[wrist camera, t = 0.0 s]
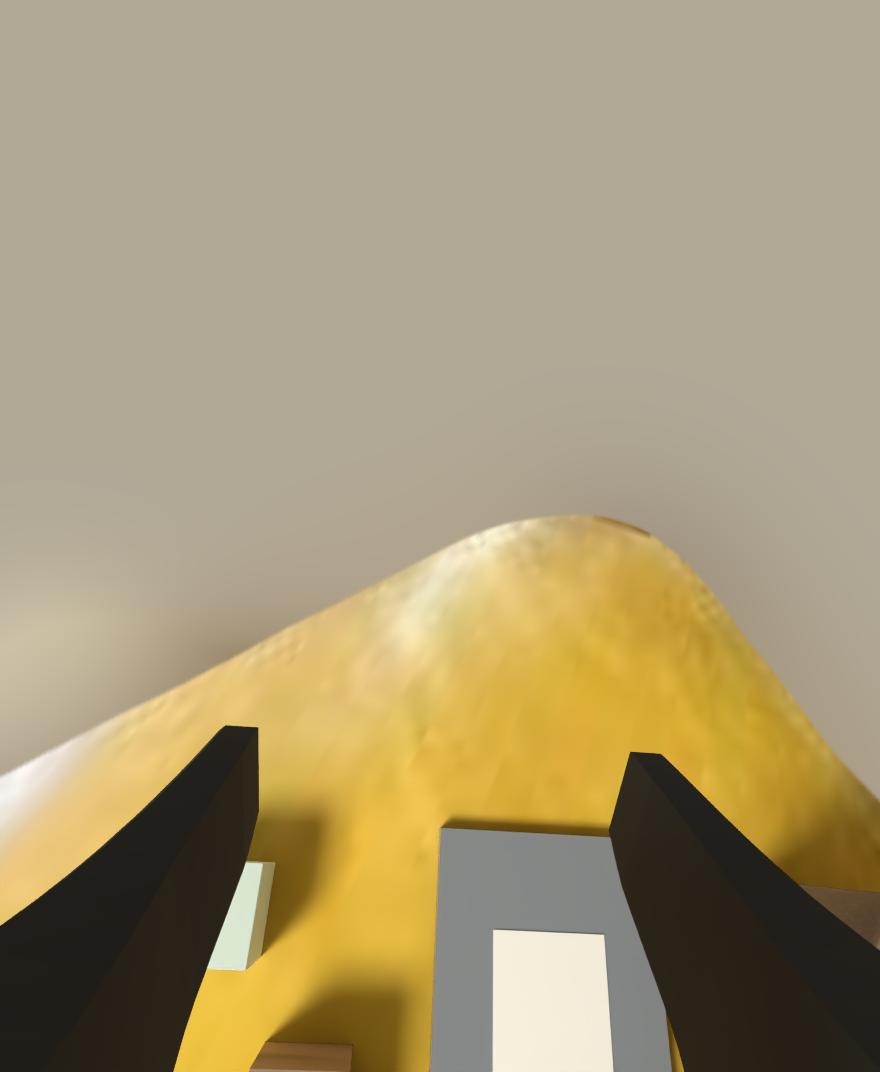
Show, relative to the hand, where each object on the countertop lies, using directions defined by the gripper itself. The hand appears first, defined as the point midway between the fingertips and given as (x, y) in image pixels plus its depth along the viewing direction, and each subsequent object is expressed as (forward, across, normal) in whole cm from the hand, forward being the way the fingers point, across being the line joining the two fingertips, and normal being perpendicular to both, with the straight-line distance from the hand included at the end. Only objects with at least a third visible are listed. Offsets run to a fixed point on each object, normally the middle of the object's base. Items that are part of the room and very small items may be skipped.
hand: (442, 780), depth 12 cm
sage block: (+18, +10, +28) cm, 34 cm away
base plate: (+15, -10, +30) cm, 35 cm away
